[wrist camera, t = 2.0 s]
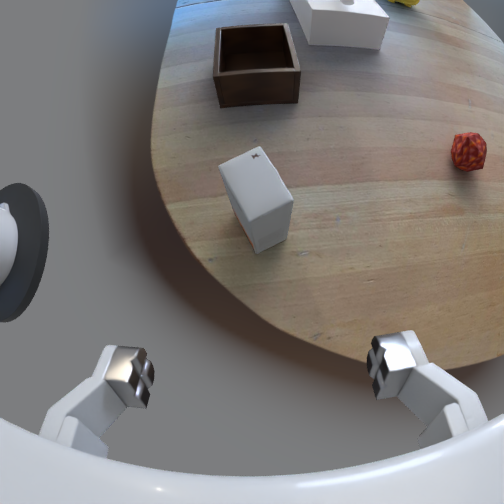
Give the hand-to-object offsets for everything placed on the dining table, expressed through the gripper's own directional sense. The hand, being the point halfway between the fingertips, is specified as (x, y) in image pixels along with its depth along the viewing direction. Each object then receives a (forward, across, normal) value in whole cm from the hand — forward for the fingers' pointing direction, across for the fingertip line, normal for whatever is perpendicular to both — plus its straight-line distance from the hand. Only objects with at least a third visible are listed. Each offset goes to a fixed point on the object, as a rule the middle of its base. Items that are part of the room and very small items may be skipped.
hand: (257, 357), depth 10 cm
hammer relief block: (+59, -18, -26) cm, 67 cm away
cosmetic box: (+25, 0, +8) cm, 26 cm away
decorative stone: (+32, -33, +1) cm, 46 cm away
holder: (+43, -1, -11) cm, 45 cm away
